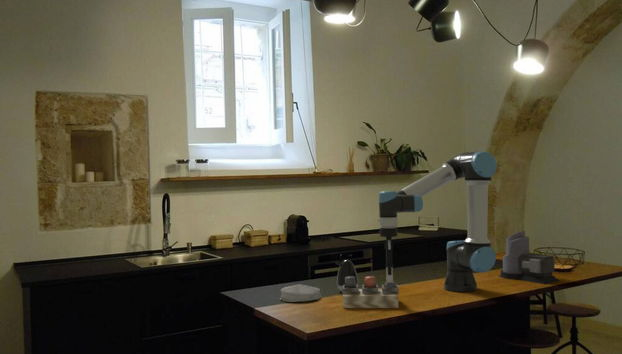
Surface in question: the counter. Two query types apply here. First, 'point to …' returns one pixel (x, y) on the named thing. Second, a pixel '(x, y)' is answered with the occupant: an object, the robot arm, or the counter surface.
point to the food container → (299, 293)
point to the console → (370, 297)
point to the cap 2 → (389, 285)
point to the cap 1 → (350, 282)
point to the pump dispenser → (345, 273)
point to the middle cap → (369, 281)
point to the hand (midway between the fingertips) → (389, 282)
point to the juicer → (526, 262)
